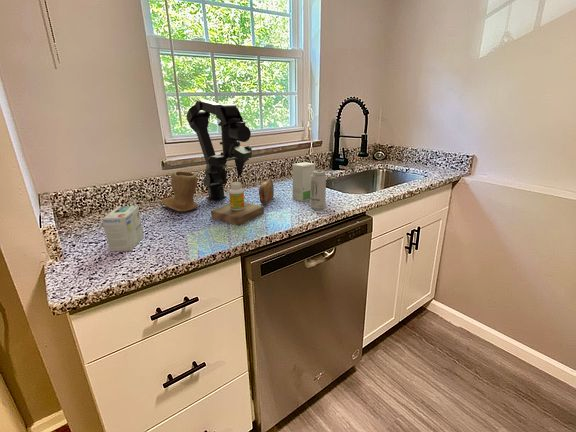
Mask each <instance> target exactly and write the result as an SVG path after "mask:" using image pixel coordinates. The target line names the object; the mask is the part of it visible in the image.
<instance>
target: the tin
mask: <svg viewBox="0 0 576 432" xmlns="http://www.w3.org/2000/svg"><path fill="white" fill-rule="evenodd" d="M258 188H259V189H258V196H259V202H260V203H259V204H261V205H269V204H270V203H271V201H272V200H273V198H274V194H275V191H274V183H273V180H265V181H263V182H262V183H261V185H260V186H259V187H258Z"/></svg>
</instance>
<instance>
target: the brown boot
mask: <svg viewBox="0 0 576 432" xmlns="http://www.w3.org/2000/svg"><path fill="white" fill-rule="evenodd" d="M170 178H171V188H172V192H173V196H170V197H165V198H164V199H162V200H161V204H162V205H163V206H166V207H167V208H169V209H172V210H174V211H177V212H189V211H192V210H195V209H197V208H198V203H196V202H195V200H194V197H195V196H194V195H195V192H196V189H197V187H198V186H197V184H198V177H197V174H196V173H194V172H191V171H182V170H181V171H180V170H176V171H174V172H172V174H171V177H170Z"/></svg>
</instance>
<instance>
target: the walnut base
mask: <svg viewBox="0 0 576 432" xmlns="http://www.w3.org/2000/svg"><path fill="white" fill-rule="evenodd" d="M244 204H245V208H244V209H242V210H238V211H236V210H231V208H230V202H228V203H226V204H224V205H221V206H218V207H216V208H214V209H212V210H210V215H211V216H210V217H211V219H213V220H218V221H220V222H224V223H229V224H233V225H236V226H240V227H241V226H243V225H244V224H247V223H248V222H250V221H252V220H254V219H256V218H258V217H260V216H262V215H264V214H265V211H264V209H265V206H264V205H259V204H255V203H249V202H245V201H244Z"/></svg>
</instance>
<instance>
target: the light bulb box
mask: <svg viewBox="0 0 576 432" xmlns="http://www.w3.org/2000/svg"><path fill="white" fill-rule="evenodd" d="M101 221H102V226H103V229H104V233H105V236H106V240H107V241H106V242H107V246H108V248H109V252H111V253H112V252H132V251H133V249H134V248H135V247H136V246H137V245H138V244H139V243H140V241H141V240H142V239H143V237H144V236H145V235H144V231H143V230H144V229H143V225H142V220H141V215H140V210H139V205H125V206H116V207H115V208H114V209H112V211H111V212H109V213H108V214H106V215H105V216H104V217H102V218H101Z"/></svg>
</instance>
